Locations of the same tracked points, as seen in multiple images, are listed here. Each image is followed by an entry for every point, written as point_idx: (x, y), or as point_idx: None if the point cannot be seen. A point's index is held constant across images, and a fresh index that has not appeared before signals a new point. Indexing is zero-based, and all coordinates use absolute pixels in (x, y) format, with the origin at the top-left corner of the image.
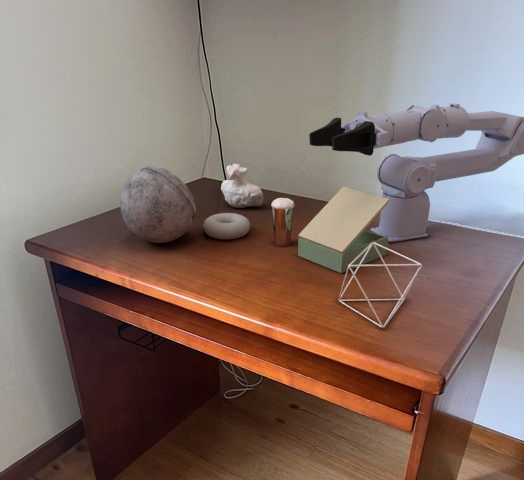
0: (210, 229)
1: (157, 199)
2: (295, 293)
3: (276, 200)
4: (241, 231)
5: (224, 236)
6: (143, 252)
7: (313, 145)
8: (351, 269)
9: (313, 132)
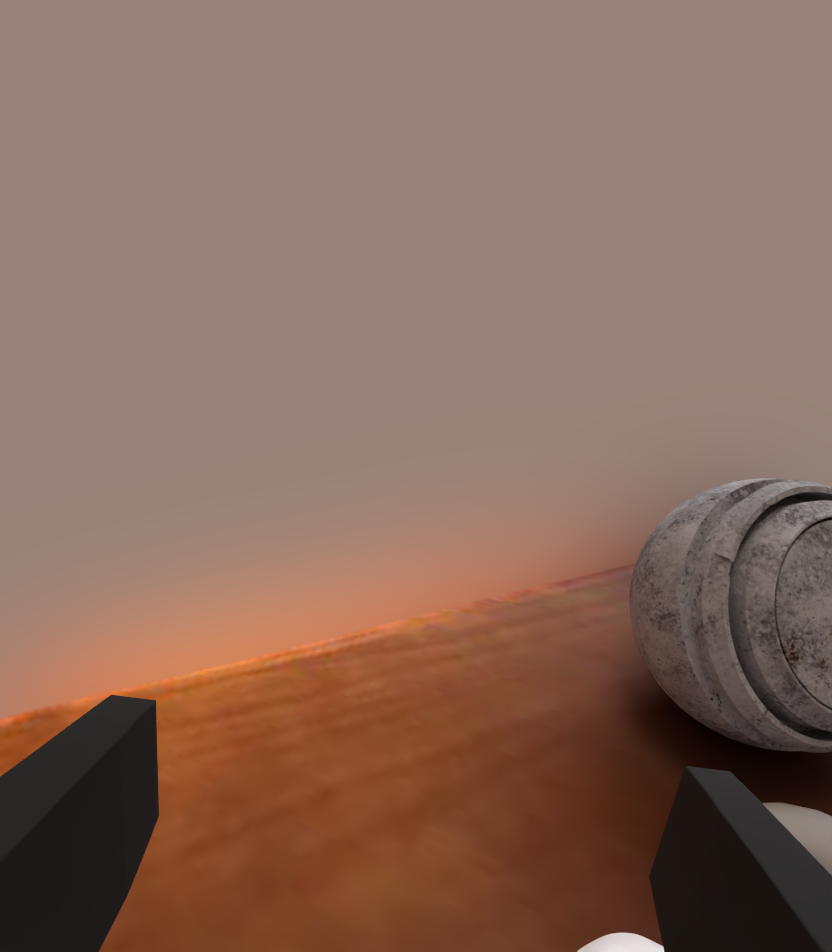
0: None
1: (652, 537)
2: None
3: (638, 945)
4: None
5: None
6: (639, 652)
7: (658, 908)
8: None
9: (712, 790)
